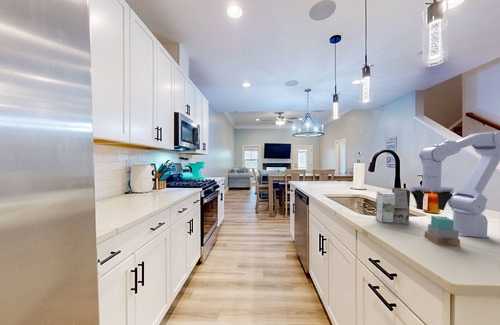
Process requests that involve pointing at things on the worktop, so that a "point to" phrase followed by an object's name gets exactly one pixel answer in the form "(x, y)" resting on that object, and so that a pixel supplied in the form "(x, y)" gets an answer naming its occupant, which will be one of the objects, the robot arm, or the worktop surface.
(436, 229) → the grey middle block
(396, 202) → the coffee box
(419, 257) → the worktop surface
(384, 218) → the syrup box
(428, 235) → the walnut base block
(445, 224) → the teal block
